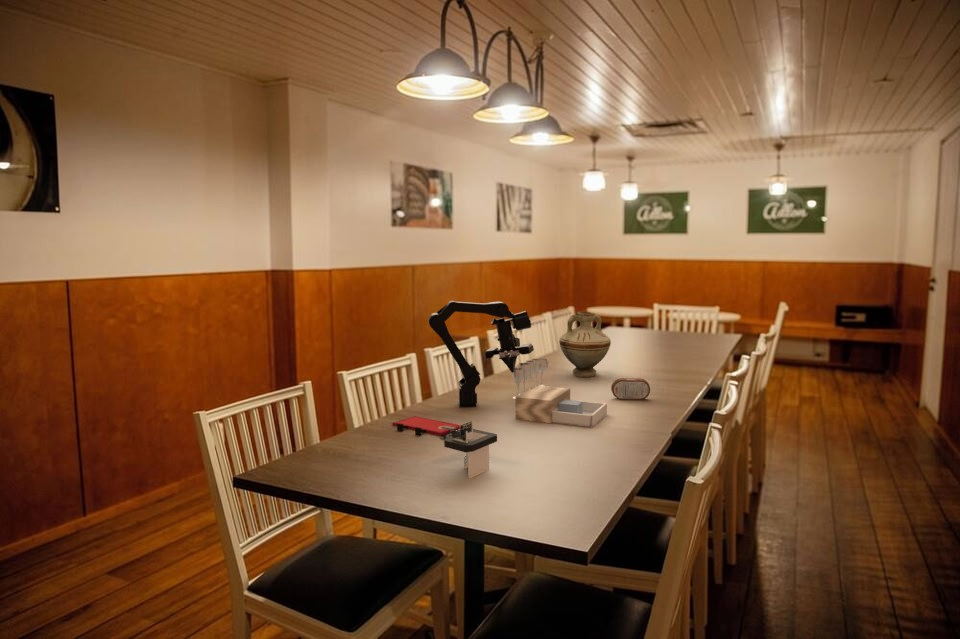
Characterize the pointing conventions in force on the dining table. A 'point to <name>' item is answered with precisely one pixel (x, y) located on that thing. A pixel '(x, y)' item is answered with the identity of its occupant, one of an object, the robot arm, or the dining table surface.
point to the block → (571, 406)
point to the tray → (582, 415)
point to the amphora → (584, 344)
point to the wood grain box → (540, 403)
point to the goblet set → (529, 371)
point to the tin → (630, 389)
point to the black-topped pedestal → (472, 447)
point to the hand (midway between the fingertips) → (513, 372)
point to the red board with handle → (426, 426)
